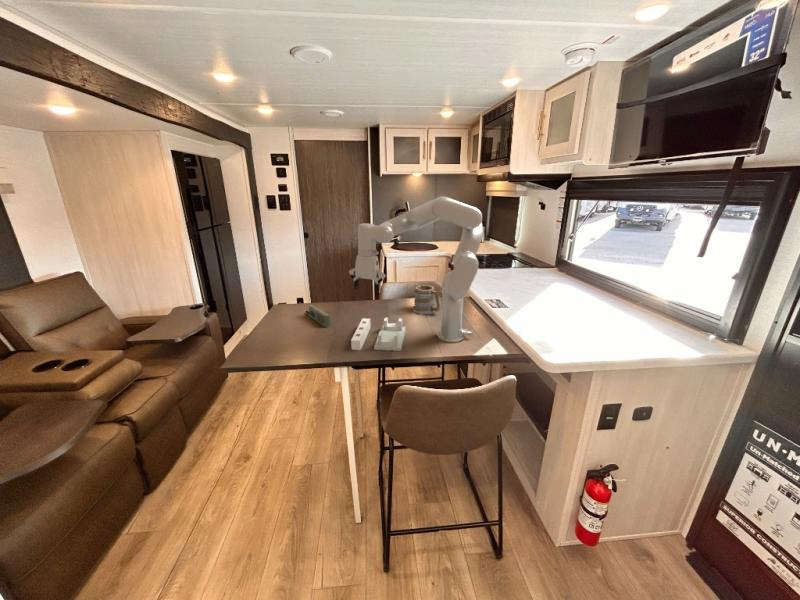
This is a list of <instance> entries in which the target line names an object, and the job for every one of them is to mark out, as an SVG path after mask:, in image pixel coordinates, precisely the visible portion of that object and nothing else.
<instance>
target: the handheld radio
mask: <svg viewBox="0 0 800 600" xmlns="http://www.w3.org/2000/svg"><path fill="white" fill-rule="evenodd" d="M305 313H306V314H307V315H309V316H308V317H309V318H311V319H312V320H314V321H315V322H317V323H319V324H321V325H322V326H323V327H325V328H326V329H327V328H330V327H331V316H330V314H328V313H326V312H325V311H323V310H322V309H320V308H318V307H316V306H315V305H312V304H308V310H305Z"/></svg>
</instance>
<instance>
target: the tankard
mask: <svg viewBox="0 0 800 600" xmlns="http://www.w3.org/2000/svg"><path fill="white" fill-rule="evenodd" d="M413 295H414V297H415V298H414V300H413V302H414V305H413V307H412V308H413V309H412V313H415V312H416V313H415V314H417V313H418V314H417V315H420V314H426V315H427V316H429V314H430V315H431V314H435V313H436V312H440V310H441V309H442V301H441V298H440V297H441V296H442V289H440V290H437V291H436V290H435V286H433V285H430V284H420V285H417V286H415V290H414V293H413ZM440 295H441V296H440ZM435 301H436V307H435ZM434 312H435V313H434ZM426 315H425V316H426Z"/></svg>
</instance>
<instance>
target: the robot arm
mask: <svg viewBox="0 0 800 600" xmlns="http://www.w3.org/2000/svg"><path fill="white" fill-rule="evenodd" d="M439 220H442V221H445V222H447V223H450V224H453V225H456V226H459V227H461V228H462V234H461V238H460V241H459V243H458V245H457V248H456V251H455V252H454V254H453V256H452V265H453V269H452V271H449V272H447V273H446V274H444V276H443V278H442V281H441V282H442V283H441V290H442V295H441V296H442V297H441V298H442V299H441V315H440V317H441V318H440V319H441V321H440V330H439V331H437V333H436V334H437V336H436V337H437V338H438V339H439V340H440V341H443V342H446V343H459V342H461V341H463V340H464V339H465V336H472V331H471V330H470V331H469V329H466V328H465V329H464V328H463V326H462V324H463V309H464V297H466V296H467V294H468V292H469V291H470V289H471V287H472V284H473V283H474V280H475V277H476V276H477V273H478V270H479V259H478V258H477V254H478V251H479V248H480V245H481V243H482V240H483V236H484V228H483V227H484V226H483V225H484V224H483V223H482V222H483V214H482V212H481V210H480V209H478V207H475V206H472V205H469V204H466V203H463V202H461V201H458V200H455V199H454V198H450V197H448V196H442V195H441V196H438V197H436V198H434V199H432V200H430V201H427V202H425V203H422V204H421V205H419V206H416V207H414V208H412V209H410V210H407V211H406V212H404V213H402V214H400V215H398V216H395V217H393V218H390V219H388V220H386V221H383V223H380V224H379V225H378V224H377V225H375V224H373V223H366V222H365V223H360V224H359V225H358V226H357V228H358V229H357V240H358V241H357V244H358V245H357V252H358V253H357V255H356V257H355V258H356V260H355V266H354V268H351V269H350V270H349V269H348V273H349V275H350V278H351V279H352V281H353V282H354V283H353V285H354V290H356V291H357V290H358V289H359V288H360V279H364V280H372V281H373V282H374V283H375V284H374V293H375V294H376V293H378V292H379V291H380V290H381V289H380V287H381V286H380V284H381V282H383V281H384V279H385V277H386V274H385V273H384V272H383V271H381V270H380V263H379V257H378V256H377V255H379V254H380V252H379V251H378V250H377V247H376V246H377V243H381V244H388V243H390V242H391V241H392V240H393V238H394V237H396V236H398V235H400V234H403V233H406V232H408V231H416V230H420V229H422V228H425V227H427V226H429V225H431V224H433V223H435V222H438V221H439ZM379 277H380V278H379Z"/></svg>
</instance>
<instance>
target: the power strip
mask: <svg viewBox="0 0 800 600" xmlns="http://www.w3.org/2000/svg"><path fill="white" fill-rule="evenodd" d="M371 327H372V326H371V318H361V321H360V322H359V325H358V326H357V328H356V330H355V332H354V334H353V335H352V337H351V339H350V344H351V345H350V346H351V350H352V351H362V348H363V346H364V344H365V341H366V339H367V336H368V334H369V332H370V329H371Z"/></svg>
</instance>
